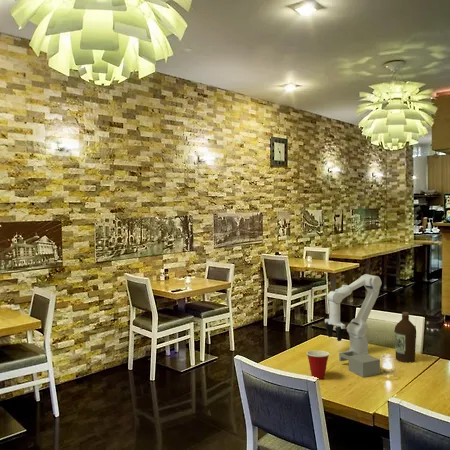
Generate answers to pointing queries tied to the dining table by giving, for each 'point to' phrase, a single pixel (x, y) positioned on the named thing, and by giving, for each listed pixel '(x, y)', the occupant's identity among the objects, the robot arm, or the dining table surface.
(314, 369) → the plastic cup
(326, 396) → the dining table surface
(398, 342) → the olive oil
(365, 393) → the dining table surface
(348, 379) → the dining table surface
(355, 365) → the grey open rectangular frame
